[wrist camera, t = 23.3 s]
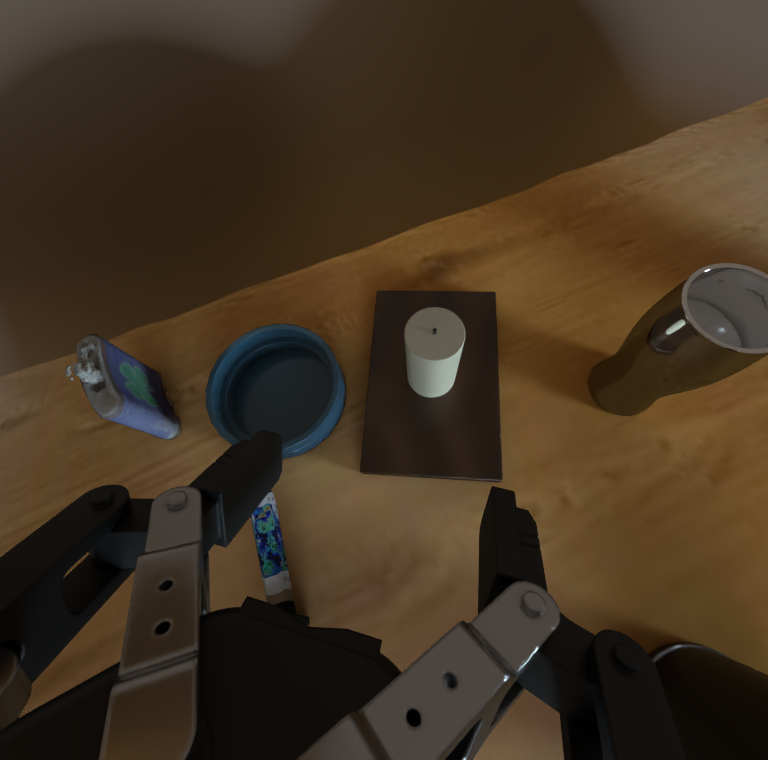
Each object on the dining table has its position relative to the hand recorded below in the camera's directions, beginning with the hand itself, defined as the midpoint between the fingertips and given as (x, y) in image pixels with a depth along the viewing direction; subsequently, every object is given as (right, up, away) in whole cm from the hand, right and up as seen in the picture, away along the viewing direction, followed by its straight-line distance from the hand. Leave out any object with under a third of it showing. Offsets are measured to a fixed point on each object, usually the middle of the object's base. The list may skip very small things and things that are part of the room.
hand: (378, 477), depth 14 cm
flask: (-24, +1, +27) cm, 37 cm away
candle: (+5, +4, +24) cm, 25 cm away
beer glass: (+24, +3, +24) cm, 34 cm away
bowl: (-10, +2, +26) cm, 28 cm away
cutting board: (+5, +4, +25) cm, 26 cm away
